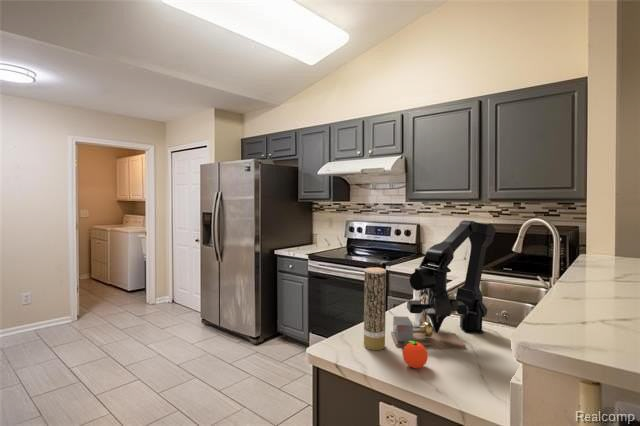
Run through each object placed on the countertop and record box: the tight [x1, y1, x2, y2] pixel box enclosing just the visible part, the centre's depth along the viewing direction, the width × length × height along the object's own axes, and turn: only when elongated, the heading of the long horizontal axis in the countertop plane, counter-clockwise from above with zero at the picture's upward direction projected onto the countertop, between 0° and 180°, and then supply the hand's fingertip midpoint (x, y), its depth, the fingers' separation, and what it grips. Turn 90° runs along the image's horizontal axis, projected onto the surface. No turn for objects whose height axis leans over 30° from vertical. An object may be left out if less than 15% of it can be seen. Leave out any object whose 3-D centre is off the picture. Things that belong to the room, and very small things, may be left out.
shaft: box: [394, 321, 433, 337], centre depth 116 cm, size 12×5×5 cm, turn 87°
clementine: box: [402, 341, 429, 369], centre depth 99 cm, size 8×7×7 cm
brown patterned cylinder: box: [363, 267, 387, 351], centre depth 111 cm, size 7×7×25 cm
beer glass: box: [412, 289, 431, 326], centre depth 130 cm, size 7×7×15 cm
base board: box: [390, 331, 467, 350], centre depth 116 cm, size 22×10×1 cm, turn 87°
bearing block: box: [392, 316, 414, 343], centre depth 116 cm, size 5×8×6 cm, turn 177°
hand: (436, 332), depth 116 cm, fingers closed
